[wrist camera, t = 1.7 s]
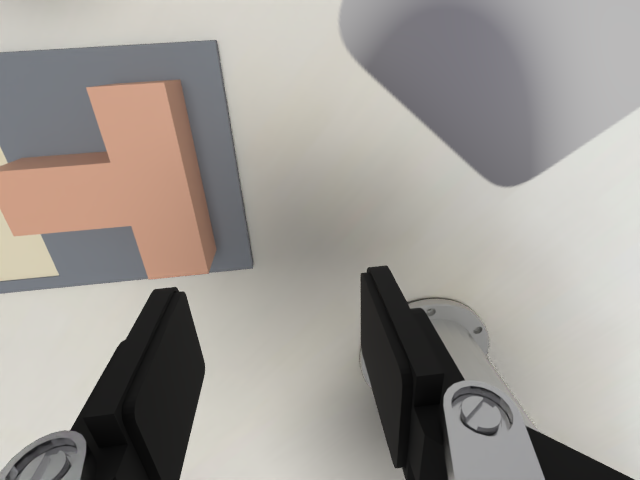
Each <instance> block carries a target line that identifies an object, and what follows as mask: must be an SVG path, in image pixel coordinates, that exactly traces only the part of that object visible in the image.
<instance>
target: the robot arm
mask: <svg viewBox="0 0 640 480" xmlns="http://www.w3.org/2000/svg"><path fill="white" fill-rule="evenodd" d="M488 349H489V336H488V331H487V329H486V327H485V325H484V323H483V322H482V320H481V319H480V318H479V316H478V315H477V314H476V313H475V312H474V311H473V310H471V309H470V308H469V307H467V306H465V305H463V304H461V303H459V302H455V301H452V300H446V299H425V300H420V301H416V302H412V303H409V304H408V303H407V301H406V300H405V298H404V296H403V294H402V292H401V290H400V288H399V286H398V284H397V283H396V281H395V279H394V277H393V275H392V273H391V271H390V269H389V268H388V266H379V267H369V268H368V269H367V273H361V351H360V366H361V370H362V373H363V377H364V379H365V381H366V382H367V384H368V386H369V387H370V388H371V389H372V391H373V394H374V398H375V401H376V405H377V408H378V412H379V415H380V419H381V422H382V426H383V430H384V433H385V437H386V440H387V444H388V447H389V451H390V454H391V458H392V461H393V464H394V467H395V468H401V467H402V469H403V472H404V475H405V479H406V480H634V479H632V478H630V477H628V476H626V475H624V474H622V473H620V472H618V471H616V470H614V469H612V468H610V467H608V466H606V465H604V464H602V463H600V462H598V461H596V460H594V459H592V458H590V457H588V456H586V455H584V454H582V453H580V452H578V451H576V450H574V449H572V448H570V447H568V446H566V445H564V444H562V443H560V442H558V441H556V440H554V439H552V438H550V437H548V436H546V435H544V434H542V433H540V432H539V431H538V429H537V428H536V427H535V425H534V424H533V422H532V421H531V420H530V418H529V417H528V415H527V414H526V412H525V411H524V410H523V408H522V407H521V405H520V404H519V403H518V401H517V400H516V398H515V397H514V395H513V394H512V393H511V391H510V390H509V388H508V387H507V385H506V384H505V383H504V381H503V380H502V378H501V377H500V376H499V374H498V373H497V371H496V370H495V368H494V367H493V366H492V364H491V363H490V361H489V360H488V358H487V357H486V356H487V353H488ZM204 374H205V363H204V358H203V355H202V351H201V348H200V344H199V340H198V337H197V333H196V329H195V326H194V322H193V319H192V315H191V311H190V308H189V304H188V300H187V297H186V294H185V292H179V290H178V289H177V288H176V287H172V288H162V289H155V290H153V291H152V293H151V295H150V297H149V298H148V300H147V302H146V304H145V306H144V307H143V309H142V311H141V313H140V315H139V317H138V318H137V320H136V322H135V324H134V326H133V327H132V329H131V331H130V333H129V335H128V336H127V338H126V340H124V341H122V342H121V343H120V344H119V346H118V347H117V349H116V351H115V352H114V354H113V356H112V358H111V359H110V361H109V363H108V365H107V366H106V368H105V370H104V372H103V374H102V375H101V377H100V379H99V381H98V382H97V384H96V386H95V388H94V389H93V391H92V393H91V395H90V396H89V398H88V400H87V402H86V403H85V405H84V407H83V409H82V410H81V412H80V414H79V416H78V418H77V419H76V421H75V423H74V425H73V426H72V428H71V430H70V431H66V430H64V431H60V432H55V433H51V434H49V435H46V436H44V437H42V438H39V439H38V440H36V441H34V442H33V443H31V444H30V445H28V446H26V447H25V448H24V449H22V450H21V451H20V452H19V453H18V454H17V455H15V456H14V457H13V458H12V459H11V460H10V461H9V462H8V464H7V465H6V466H5V467H4V468H3V469H2V470H1V472H0V480H179V479H180V475H181V471H182V466H183V462H184V458H185V454H186V450H187V446H188V441H189V437H190V433H191V429H192V425H193V421H194V416H195V412H196V408H197V404H198V400H199V396H200V391H201V387H202V383H203V379H204Z"/></svg>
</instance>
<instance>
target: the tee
mask: <svg viewBox="0 0 640 480" xmlns="http://www.w3.org/2000/svg"><path fill="white" fill-rule="evenodd" d="M86 89H87V92H88V95H89V98H90V101H91V104H92V107H93V110H94V114H95V117H96V120H97V123H98V126H99V129H100V132H101V135H102V138H103V141H104V144H105V147H106V150H107V151H106V152H93V153H80V154H67V155H53V156H40V157H27V158H21V159H18V160H15V161H12V162H10V163H7V164H4V165H2V166H0V210H1V212H2V214H3V216H4V218H5V220H6V222H7V224H8V226H9V228H10V230H11V232H12V234H13V236H24V235H36V234H47V233H58V232H69V231H80V230H91V229H102V228H114V227H125V226H131V227H132V230H133V233H134V236H135V239H136V242H137V245H138V249H139V252H140V255H141V258H142V261H143V264H144V267H145V270H146V273H147V276H148V279H159V278H169V277H179V276H189V275H199V274H208V273H209V271H210V268H211V265H212V262H213V259H214V256H215V253H216V250H217V249H216V245H215V240H214V235H213V231H212V226H211V221H210V217H209V212H208V207H207V202H206V198H205V193H204V188H203V184H202V179H201V174H200V170H199V165H198V160H197V156H196V151H195V146H194V141H193V137H192V132H191V127H190V123H189V118H188V113H187V109H186V104H185V99H184V95H183V90H182V85H181V80H164V81H149V82H133V83H118V84H108V85H100V86H93V87H86Z"/></svg>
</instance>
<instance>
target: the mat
mask: <svg viewBox="0 0 640 480" xmlns="http://www.w3.org/2000/svg"><path fill="white" fill-rule="evenodd" d="M164 80H181V85H182V90H183V95H184V99H185V104H186V109H187V113H188V118H189V123H190V127H191V132H192V137H193V141H194V146H195V151H196V156H197V160H198V165H199V170H200V174H201V179H202V184H203V188H204V193H205V198H206V202H207V207H208V212H209V217H210V221H211V226H212V231H213V235H214V240H215V245H216V249H217V250H216V253H215V256H214V259H213V262H212V265H211V268H210V271H209V273H211V272H221V271H231V270H241V269H251V268H253V260H252V254H251V248H250V242H249V236H248V230H247V223H246V217H245V211H244V205H243V199H242V193H241V187H240V181H239V174H238V168H237V162H236V156H235V150H234V144H233V138H232V132H231V126H230V119H229V113H228V107H227V101H226V95H225V89H224V83H223V77H222V70H221V64H220V58H219V52H218V46H217V41H216V40H210V41H192V42H175V43H157V44H140V45H122V46H105V47H87V48H70V49H52V50H35V51H17V52H0V166H2V165H4V164H7V163H10V162H12V161H15V160H18V159H21V158H27V157H40V156H53V155H67V154H80V153H93V152H106V151H107V150H106V147H105V144H104V141H103V138H102V135H101V132H100V129H99V126H98V123H97V120H96V117H95V114H94V110H93V107H92V104H91V101H90V98H89V95H88V92H87V89H86V87H93V86H100V85H108V84H118V83H133V82H149V81H164ZM141 279H148V276H147V273H146V270H145V267H144V264H143V261H142V258H141V255H140V252H139V249H138V245H137V242H136V239H135V236H134V233H133V230H132V227H131V226H125V227H114V228H102V229H91V230H80V231H69V232H58V233H47V234H36V235H24V236H13V234H12V232H11V230H10V228H9V226H8V224H7V222H6V220H5V218H4V216H3V214H2V212H1V210H0V294H1V293H11V292H21V291H31V290H41V289H51V288H61V287H71V286H81V285H91V284H101V283H111V282H121V281H131V280H141Z"/></svg>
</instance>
